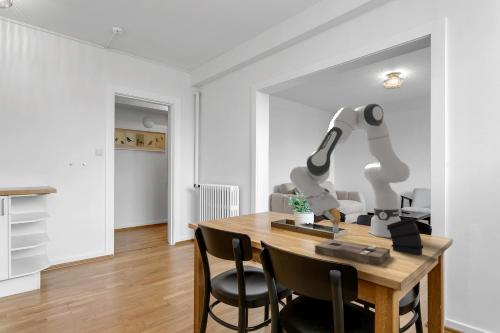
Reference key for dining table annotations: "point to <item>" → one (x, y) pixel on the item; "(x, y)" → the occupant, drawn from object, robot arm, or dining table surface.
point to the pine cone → (318, 218)
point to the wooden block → (335, 223)
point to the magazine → (406, 236)
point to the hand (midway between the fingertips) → (336, 219)
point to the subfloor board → (353, 251)
